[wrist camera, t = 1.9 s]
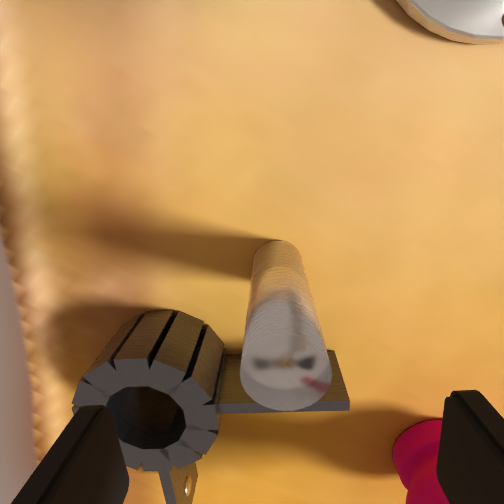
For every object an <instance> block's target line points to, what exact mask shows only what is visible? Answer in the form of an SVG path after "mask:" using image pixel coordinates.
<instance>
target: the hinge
mask: <svg viewBox="0 0 504 504" xmlns="http://www.w3.org/2000/svg"><path fill="white" fill-rule="evenodd" d="M203 323H204V321H201V320H199V319H197V318H194V317H192V316H190V315H187V314H185V313H183V312H180V311H179V312H178V314H177V316H176V318H175V315H174V310H162V311H147V313H146V314H145V315H144V314H143V313H141V314H140V315H138V316H137V317H135V318H134V319H132V320H130V321H129V322H127V323H126V324H124V325H123V326H122V327H121V328H120V330H119V331H118V332H117V333H116V335H115V336H114V337H113V339H112V340H111V341H110V342H109V344H108V345H107V346H106V347H105V349H104V350H103V351H102V353H101V354H100V355H99V356H98V358H97V359H96V360H95V362H94V363H93V364H92V365H91V367H90V368H89V369H88V370H87V372H86V373H85V374H84V376H83V377H82V378H81V379H80V381H79V384H78V387H77V389H76V392H75V395H74V398H73V401H72V404H74V406H73V407H72V411H73V414H74V415H75V413H76V412H77V410H78V409H79V408H80V407H82V406H85V405H104V406H105V407H106V410H110V411H111V413H112V417H113V420H114V424H115V428H116V431H117V435H118V439H119V442H120V446H121V450H122V453H123V457H124V461H125V464H126V466H128V467H131V468H133V469H136V470H138V468H139V466H140V464H141V463H142V467H143V470H144V471H158V472H159V476H160V480H161V484H162V488H163V492H164V496H165V500H166V504H192V501H193V496H194V492H195V487H196V482H197V477H198V474H197V469H196V464H195V461H197V460H199V459H201V458H202V454H204V455H206V453H207V452H208V450H209V448H210V447H211V445H212V443H213V442H214V440H215V438H216V437H217V435H218V430H219V424H220V418H221V414H223V413H264V412H305V411H346V410H349V407H350V400H349V397H348V394H347V390H346V387H345V384H344V381H343V377H342V374H341V371H340V368H339V365H338V361H337V358H336V355H335V352H334V351H327V354H328V358H329V361H330V365H331V369H332V379H331V383H330V385H329V388H328V390H327V391H326V393H325V394H324V395H323V396H322V397H321V398H320V399H319V400H318V401H316V402H315V403H314V404H312V405H310V406H308V407H305V408H302V409H299V410H293V411H280V410H274V409H270V408H267V407H265V406H262V405H260V404H259V403H257V402H256V401H254V400H253V399H252V398H251V397H250V396H249V395H248V394H247V393H246V391H245V390H244V388H243V386H242V383H241V379H240V367H241V359H242V354H238V355H227V351H226V348H223V347H224V343H223V342H222V341H221V339H220V338H219V337H218V336H217V335H216V333H215V332H214V331H213V330H212V329H211V327H210V326H209V325H207V326H206V327H204V328H202V326H203ZM201 328H202V329H201Z"/></svg>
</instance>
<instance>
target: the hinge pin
mask: <svg viewBox="0 0 504 504" xmlns="http://www.w3.org/2000/svg"><path fill="white" fill-rule="evenodd" d="M240 379H241V383H242V386H243V388H244V390H245V391H246V393H247V394H248V395H249V396H250V397H251V398H252V399H253V400H254V401H256V402H257V403H259V404H260V405H262V406H265V407H267V408H270V409H274V410H280V411H293V410H299V409H302V408H305V407H308V406H310V405H312V404H314V403H315V402H316V401H318V400H319V399H320V398H321V397H322V396H323V395H324V394H325V393H326V391H327V390H328V388H329V385H330V383H331V379H332V369H331V365H330V361H329V358H328V354H327V350H326V347H325V343H324V339H323V336H322V332H321V328H320V325H319V321H318V317H317V314H316V310H315V307H314V303H313V299H312V296H311V292H310V288H309V285H308V281H307V277H306V274H305V270H304V266H303V263H302V259H301V256H300V253H299V252H298V250H297V249H296V248H295V247H294V246H293V245H292V244H290V243H288V242H286V241H281V240H275V241H270V242H267V243H265V244H264V245H262V246H261V247H260V248H259V249H258V250H257V252H256V254H255V256H254V261H253V269H252V277H251V285H250V293H249V302H248V310H247V318H246V326H245V334H244V342H243V351H242V359H241V367H240Z"/></svg>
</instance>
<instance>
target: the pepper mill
mask: <svg viewBox="0 0 504 504" xmlns="http://www.w3.org/2000/svg"><path fill="white" fill-rule="evenodd" d="M441 427H442V420H430V421H425V422H422V423H419V424H416V425H414V426H412V427H411V428H409V429H407V430H406V431H405V432H404V433H403V434H402V435H401V436H400V437H399V438H398V439H397V441H396V443H395V445H394V447H393V461H394V463H395V466H396V469H397V471H398V474H399V476H400V479H401V481H402V484H403V485H404V487H405V488H406V489H407V490H408V492H407V497H406V504H450V503H449V501H448V500H447V498H446V496H445V494H444V492H443V490H442V488H441V486H440V484H439V481H438V478H437V474H436V466H437V458H438V450H439V443H440V435H441Z"/></svg>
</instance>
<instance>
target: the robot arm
mask: <svg viewBox="0 0 504 504" xmlns="http://www.w3.org/2000/svg"><path fill="white" fill-rule="evenodd" d="M396 1H397V2H398V3H399V5H400V6H401V7H402V8H403V9H404V11H405V12H406V13H407V14H408V15H409V16H410V17H411V18H413V19H414V20H415V21H417V22H418V23H419V24H421V25H422V26H423V27H425V28H426V29H427V30H429V31H431V32H433V33H436V34H438V35H440V36H443V37H445V38H447V39H450V40H453V41H459V42H465V43H471V44H494V43H504V0H396ZM502 21H503V25H502ZM436 474H437V478H438V481H439V484H440V486H441V488H442V490H443V492H444V494H445V496H446V498H447V500H448V501H449V503H450V504H504V418H503V417H502V416H501V415H500V414H499V413H498V412H497V411H496V409H495V408H494V407H493V406H492V405H491V404H490V403H489V402H488V400H487V399H486V398H485V397H484V396H483V395H482V394H481V393H480V392H479V391H477V390H462V391H453V392H452V393H451V395H450V397H446V399H445V404H444V411H443V419H442V427H441V435H440V443H439V450H438V458H437V466H436ZM128 487H129V475H128V472H127V468H126V464H125V461H124V457H123V453H122V450H121V446H120V442H119V439H118V435H117V431H116V428H115V424H114V420H113V417H112V413H111V411H110V410H106V407H105V406H104V405H85V406H82V407H80V408H79V409H78V410H77V412H76V413H75V415H74V416H73V417H72V419H71V420H70V422H69V423H68V425H67V426H66V427H65V429H64V430H63V432H62V433H61V434H60V436H59V437H58V439H57V440H56V441H55V443H54V444H53V446H52V447H51V448H50V450H49V451H48V453H47V454H46V455H45V457H44V458H43V460H42V461H41V463H40V464H39V465H38V467H37V468H36V469H35V471H34V472H33V474H32V475H31V476H30V478H29V479H28V481H27V482H26V483H25V485H24V486H23V488H22V489H21V490H20V492H19V493H18V495H17V496H16V498H15V499H14V500H13V502H12V503H11V504H123V502H124V499H125V497H126V494H127V491H128Z"/></svg>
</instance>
